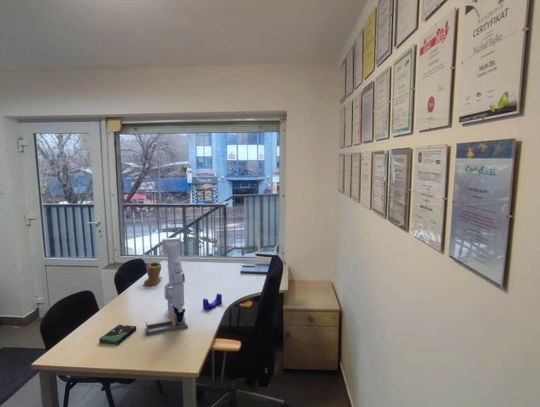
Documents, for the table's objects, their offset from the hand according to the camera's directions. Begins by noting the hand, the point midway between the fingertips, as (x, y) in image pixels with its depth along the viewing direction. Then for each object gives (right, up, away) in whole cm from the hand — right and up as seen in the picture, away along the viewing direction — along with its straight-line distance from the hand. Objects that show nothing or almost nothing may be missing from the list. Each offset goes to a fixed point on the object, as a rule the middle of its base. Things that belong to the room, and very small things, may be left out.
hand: (179, 319), depth 168 cm
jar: (+1, -2, 0) cm, 2 cm away
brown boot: (-38, +3, +66) cm, 76 cm away
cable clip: (+14, -1, +25) cm, 29 cm away
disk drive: (-27, -5, -10) cm, 30 cm away
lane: (-6, -4, -2) cm, 7 cm away
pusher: (-3, -3, -1) cm, 4 cm away
